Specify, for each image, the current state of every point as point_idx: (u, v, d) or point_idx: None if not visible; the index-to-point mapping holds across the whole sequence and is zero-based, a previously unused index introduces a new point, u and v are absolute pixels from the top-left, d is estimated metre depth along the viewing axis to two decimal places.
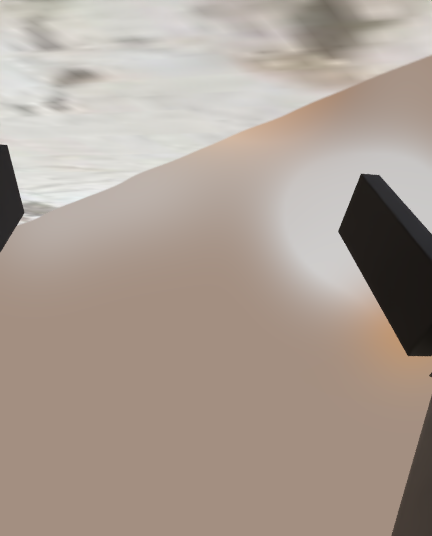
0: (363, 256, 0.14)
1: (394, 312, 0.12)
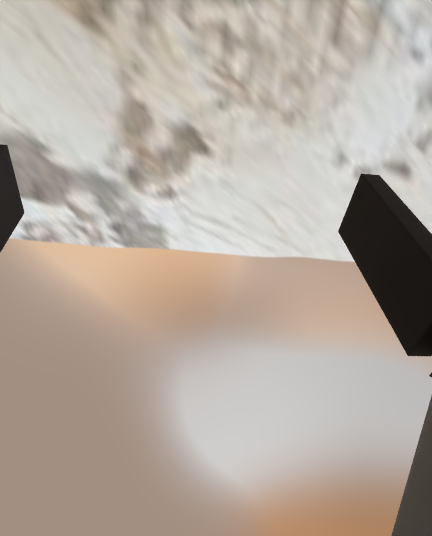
0: (363, 256, 0.14)
1: (393, 312, 0.12)
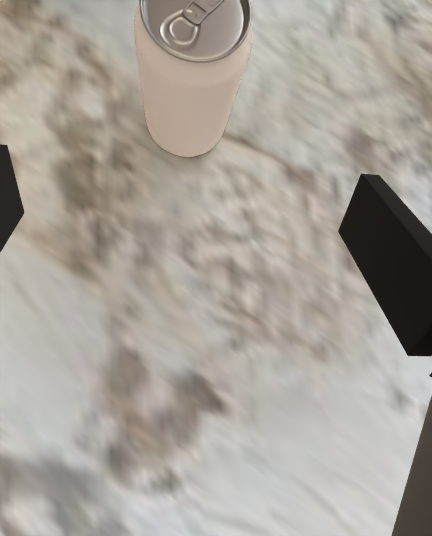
0: (363, 256, 0.14)
1: (394, 312, 0.12)
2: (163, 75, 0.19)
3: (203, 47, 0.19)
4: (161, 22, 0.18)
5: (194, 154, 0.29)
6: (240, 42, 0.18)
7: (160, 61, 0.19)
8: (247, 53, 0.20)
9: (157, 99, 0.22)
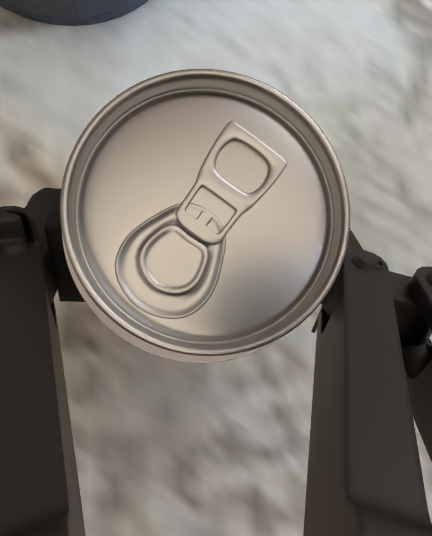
0: None
1: None
2: (130, 343, 0.08)
3: (230, 303, 0.07)
4: (121, 246, 0.07)
5: None
6: (324, 294, 0.07)
7: (120, 327, 0.08)
8: None
9: None
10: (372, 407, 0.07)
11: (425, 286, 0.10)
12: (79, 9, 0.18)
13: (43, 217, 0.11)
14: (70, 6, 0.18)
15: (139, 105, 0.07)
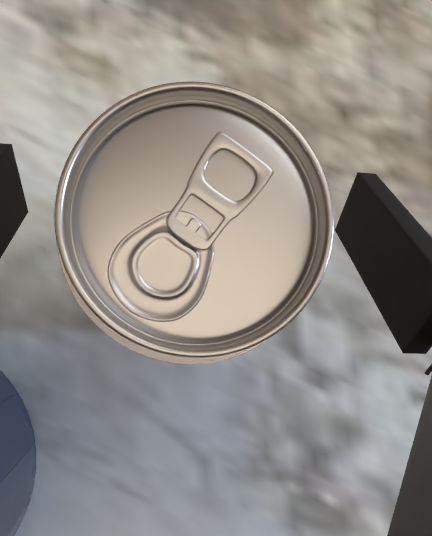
0: (359, 254, 0.14)
1: (389, 310, 0.12)
2: None
3: (218, 306, 0.08)
4: (113, 251, 0.07)
5: None
6: (308, 297, 0.07)
7: (113, 329, 0.08)
8: None
9: None
10: None
11: None
12: None
13: None
14: None
15: (131, 116, 0.08)
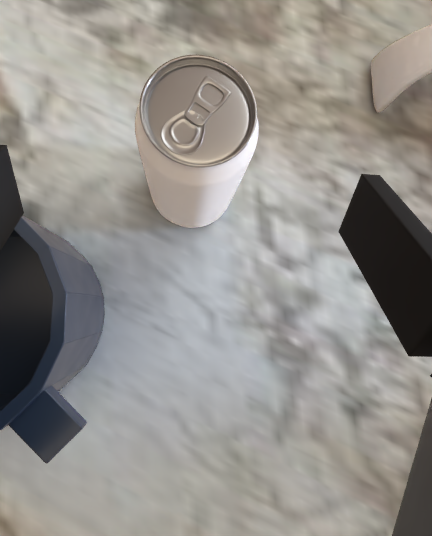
0: (363, 256, 0.14)
1: (394, 312, 0.12)
2: (166, 175, 0.18)
3: (207, 149, 0.18)
4: (162, 126, 0.17)
5: (201, 225, 0.28)
6: (246, 143, 0.17)
7: (162, 164, 0.18)
8: (253, 148, 0.19)
9: (160, 189, 0.21)
10: None
11: None
12: None
13: None
14: None
15: (168, 71, 0.18)
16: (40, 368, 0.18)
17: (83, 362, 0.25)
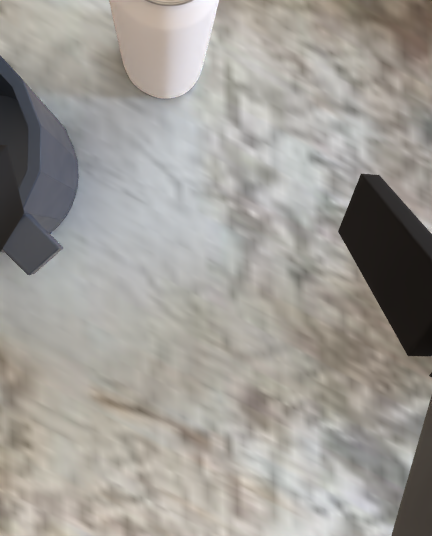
0: (363, 256, 0.14)
1: (393, 312, 0.12)
2: (132, 16, 0.20)
3: None
4: None
5: (170, 96, 0.30)
6: None
7: (128, 2, 0.19)
8: None
9: (129, 39, 0.22)
10: None
11: None
12: None
13: None
14: None
15: None
16: (19, 192, 0.20)
17: (59, 214, 0.28)
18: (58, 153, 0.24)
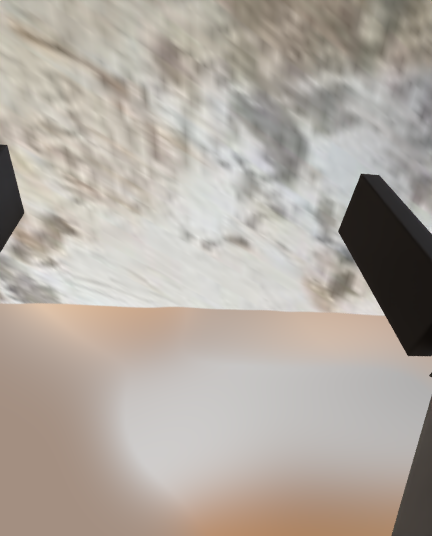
0: (363, 256, 0.14)
1: (394, 312, 0.12)
2: None
3: None
4: None
5: None
6: None
7: None
8: None
9: None
10: None
11: None
12: None
13: None
14: None
15: None
16: None
17: None
18: None
